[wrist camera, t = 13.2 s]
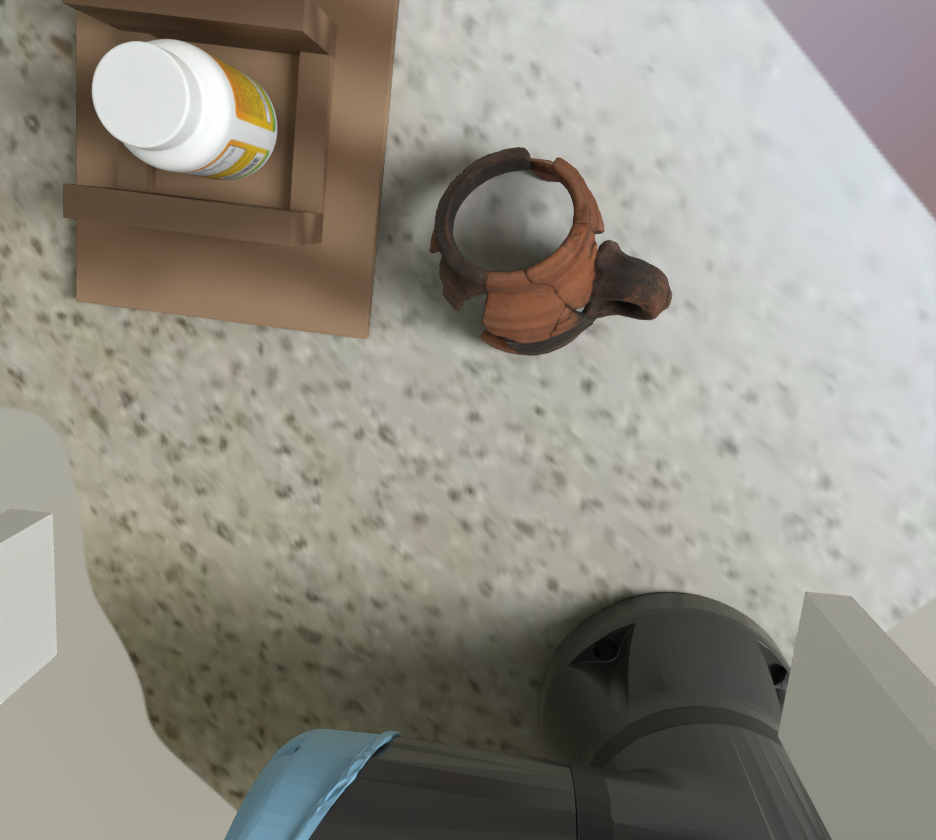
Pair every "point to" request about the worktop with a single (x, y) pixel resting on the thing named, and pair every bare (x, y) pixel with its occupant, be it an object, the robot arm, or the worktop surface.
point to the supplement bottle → (184, 109)
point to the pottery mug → (546, 268)
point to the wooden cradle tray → (253, 197)
